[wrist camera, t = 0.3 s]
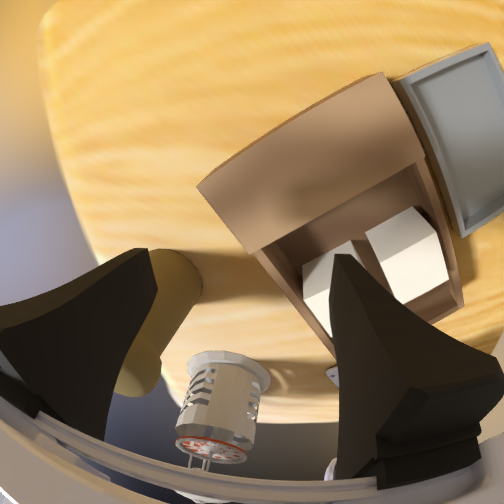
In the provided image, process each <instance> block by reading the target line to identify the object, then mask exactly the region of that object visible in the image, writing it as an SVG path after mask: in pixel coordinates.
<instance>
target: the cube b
mask: <svg viewBox="0 0 504 504" xmlns="http://www.w3.org/2000/svg"><path fill="white" fill-rule="evenodd" d="M365 233H366V235H367V237H368V240H369V242H370V244H371V246H372V248H373V250H374V252H375V254H376V256H377V259H378V261H379V263H380V265H381V267H382V269H383V272H384V274H385V276H386V278H387V280H388V283H389V285H390V287H391V289H392V292H393V294H394V296H395V298H396V299H397V300H398V301H399V302H401V303H402V304H404V303H406V302H408V301H410V300H412V299H414V298H416V297H418V296H420V295H422V294H424V293H425V292H427V291H429V290H431V289H433V288H435V287H436V286H438V285H440V284H442V283H443V282H445V281H447V280H449V277H448V273H447V269H446V265H445V261H444V257H443V253H442V250H441V246H440V243H439V239H438V236H437V233H436V231H435V230H434V229H433V228H432V227H431V225H430V224H429V223H428V222H427V221H426V220H425V219H424V218H423V217H422V216H421V215H420V214H419V213H418V212H417V211H416V209H415V208H414V207H413V206H412V207H410V208H408V209H406V210H405V211H403V212H401V213H399V214H397V215H396V216H394V217H392V218H390V219H388V220H387V221H385V222H383V223H381V224H379V225H378V226H376V227H374V228H372V229H370V230H368V231H367V232H365Z"/></svg>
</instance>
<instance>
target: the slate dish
mask: <svg viewBox="0 0 504 504" xmlns="http://www.w3.org/2000/svg"><path fill="white" fill-rule="evenodd" d="M390 83H391V84H392V86H393V88H394V89H395V91H396V93H397V95H398V97H399V98H400V100H401V102H402V104H403V106H404V108H405V110H406V112H407V113H408V115H409V117H410V119H411V121H412V123H413V126H414V128H415V130H416V132H417V134H418V136H419V138H420V141H421V143H422V145H423V147H424V150H425V152H426V154H427V157H428V159H429V162H430V164H431V167H432V169H433V172H434V175H435V177H436V180H437V183H438V186H439V188H440V191H441V194H442V197H443V200H444V203H445V207H446V210H447V213H448V217H449V220H450V224H451V227H452V230H453V231H454V232H455V233H456V234H457V235H458V236H459V237H460V238H461V239H463V238H465V237H466V236H468V235H469V234H471V233H473V232H474V231H476V230H477V229H479V228H480V227H482V226H483V225H485V224H486V223H488V222H489V221H491V220H492V219H494V218H495V217H497V216H498V215H500V214H501V213H503V212H504V73H503V71H502V69H501V66H500V64H499V62H498V60H497V58H496V55H495V53H494V51H493V49H492V47H491V45H490V43H489V42H487V43H480V44H475V45H472V46H470V47H467V48H464V49H462V50H459V51H457V52H454V53H452V54H449V55H447V56H444V57H442V58H440V59H437V60H435V61H433V62H430V63H428V64H426V65H424V66H421V67H419V68H417V69H415V70H413V71H410V72H408V73H406V74H404V75H402V76H400V77H398V78H396V79H394V80H392V81H390Z"/></svg>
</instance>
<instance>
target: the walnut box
mask: <svg viewBox="0 0 504 504" xmlns="http://www.w3.org/2000/svg"><path fill="white" fill-rule="evenodd" d="M424 157H426V155H425V153H424V151H423V148H422V146H421V144H420V142H419V139H418V137H417V135H416V133H415V131H414V129H413V127H412V124H411V122H410V120H409V118H408V116H407V114H406V113H405V111H404V109H403V107H402V105H401V103H400V101H399V99H398V98H397V96H396V94H395V92H394V90H393V89H392V87H391V85H390V84H389V82H388V80H387V79H386V77H385V75H384V74H383V72H380V73H376V74H372V75H369V76H366V77H363V78H361V79H359V80H357V81H355V82H353V83H351V84H349V85H347V86H345V87H344V88H342V89H340V90H338V91H336V92H334V93H333V94H331V95H329V96H327V97H325V98H324V99H322V100H320V101H318V102H317V103H315V104H313V105H311V106H310V107H308V108H306V109H305V110H303V111H301V112H300V113H298V114H296V115H295V116H293V117H291V118H290V119H288V120H287V121H285V122H283V123H282V124H280V125H279V126H277V127H275V128H274V129H272V130H271V131H269V132H268V133H266V134H265V135H263V136H262V137H260V138H258V139H257V140H255V141H254V142H252V143H251V144H250V145H248V146H247V147H245V148H244V149H242V150H241V151H239V152H238V153H236V154H235V155H233V156H232V157H231V158H229V159H228V160H226V161H225V162H224V163H222V164H221V165H219V166H218V167H217V168H215V169H214V170H213V171H212V172H211V173H210V174H209V175H208V176H206V177H205V178H204V179H203V180H202V181H201V182H200V183H199V184H198V185H197V186H196V188H197V189H198V190H199V192H200V193H201V194H202V195H203V197H204V198H205V199H206V200H207V202H208V203H209V204H210V206H211V207H212V208H213V209H214V211H215V212H216V213H217V214H218V216H219V217H220V218H221V220H222V221H223V222H224V223H225V225H226V226H227V227H228V228H229V230H230V231H231V232H232V233H233V235H234V236H235V237H236V239H237V240H238V241H239V242H240V244H241V245H242V246H243V247H244V249H245V250H246V251H247V252H248V254H249V255H250V254H252V253H253V254H254V256H255V257H256V258H257V260H258V261H259V262H260V263H261V265H262V266H263V267H264V268H265V270H266V271H267V272H268V274H269V275H270V276H271V277H272V279H273V280H274V281H275V283H276V284H277V285H278V286H279V288H280V289H281V290H282V291H283V293H284V294H285V295H286V297H287V298H288V299H289V300H290V302H291V303H292V304H293V305H294V307H295V308H296V309H297V311H298V312H299V313H300V314H301V316H302V317H303V318H304V320H305V321H306V322H307V323H308V325H309V326H310V327H311V328H312V330H313V331H314V332H315V334H316V335H317V336H318V337H319V339H320V340H321V341H322V342H323V344H324V345H325V346H326V348H327V349H328V350H329V351H330V353H331V354H332V355H333V357H334V358H335V359H336V355H335V349H334V343H333V337H330V335H329V334H328V333H327V331H326V330H325V329H324V327H323V326H322V325H321V323H320V322H319V320H318V319H317V318H316V316H315V315H314V314H313V312H312V311H311V310H310V308H309V307H308V306H307V304H306V303H305V302H304V300H303V272H302V265H304V264H306V263H308V262H310V261H312V260H313V259H315V258H317V257H319V256H321V255H323V254H325V253H327V252H329V251H331V250H333V249H335V248H337V247H338V246H340V245H342V244H344V243H346V242H348V241H350V240H351V242H352V244H353V246H354V248H355V250H356V251H357V253H358V255H359V257H360V259H361V261H362V263H363V265H364V266H365V268H366V270H367V271H368V272H369V273H370V274H371V275H372V276H373V277H374V278H375V279H376V280H377V281H378V282H379V283H380V284H381V285H382V286H383V287H384V288H385V289H386V290H387V291H388V292H389V293H390V294H392V295H393V296H394V294H393V292H392V289H391V287H390V285H389V283H388V280H387V278H386V276H385V274H384V272H383V269H382V267H381V265H380V263H379V261H378V259H377V256H376V254H375V252H374V250H373V248H372V246H371V244H370V242H369V240H368V237H367V235H366V233H365V232H367V231H368V230H370V229H372V228H374V227H376V226H378V225H379V224H381V223H383V222H385V221H387V220H388V219H390V218H392V217H394V216H396V215H397V214H399V213H401V212H403V211H405V210H406V209H408V208H410V207H412V206H413V207H414V208H415V209H416V211H417V212H418V213H419V214H420V215H421V216H422V217H423V218H424V219H425V220H426V221H427V222H428V223H429V224H430V225H431V227H432V228H433V229H434V230H435V231H436V233H437V236H438V239H439V243H440V246H441V250H442V253H443V257H444V261H445V265H446V269H447V273H448V277H449V280H447V281H445V282H443V283H442V284H440V285H438V286H436V287H435V288H433V289H431V290H429V291H427V292H425V293H424V294H422V295H420V296H418V297H416V298H414V299H412V300H410V301H408V302H406V303H404V304H403V305H404V306H406V307H407V308H408V309H410V310H411V311H412V312H413V313H415V314H416V315H417V316H419V317H420V318H422V319H423V320H425V321H426V322H428V323H429V324H431V325H432V324H434V323H436V322H438V321H440V320H441V319H443V318H445V317H447V316H449V315H450V314H452V313H454V312H456V311H457V310H459V309H461V308H462V307H464V299H463V293H462V287H461V281H460V276H459V271H458V266H457V262H456V257H455V253H454V249H453V245H452V241H451V237H450V233H449V229H448V226H447V222H446V219H445V216H444V212H443V209H442V206H441V203H440V200H439V197H438V194H437V191H436V188H435V186H434V183H433V180H432V178H431V175H430V172H429V170H428V167H427V165H426V162H425V160H424ZM394 297H395V296H394Z"/></svg>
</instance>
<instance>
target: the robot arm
mask: <svg viewBox="0 0 504 504" xmlns="http://www.w3.org/2000/svg"><path fill="white" fill-rule="evenodd" d="M157 292H158V286H157V283H156V279H155V275H154V271H153V268H152V264H151V260H150V256H149V251H148V248H134V249H131V250H129V251H126V252H124V253H122V254H120V255H118V256H117V257H115V258H113V259H111V260H109V261H107V262H106V263H104V264H102V265H100V266H98V267H97V268H95V269H93V270H91V271H89V272H88V273H86V274H84V275H82V276H80V277H78V278H76V279H74V280H73V281H71V282H69V283H66V284H64V285H62V286H60V287H58V288H55V289H53V290H51V291H48V292H46V293H43V294H40V295H38V296H35V297H32V298H29V299H26V300H23V301H20V302H16V303H12V304H8V305H3V306H0V491H1V492H2V493H3V494H4V495H5V498H4V500H3V503H2V504H168V503H165V502H161V501H158V500H155V499H152V498H149V497H147V496H144V495H141V494H138V493H136V492H133V491H130V490H128V489H125V488H122V487H120V486H118V485H116V484H113V483H111V482H110V478H109V477H108V476H106V475H105V474H103V473H101V472H100V471H98V470H96V469H95V468H93V467H91V466H90V465H88V464H87V463H86V462H84V461H83V460H82V459H80V458H79V457H78V456H77V455H75V454H73V453H71V452H70V451H68V450H67V448H69V449H71V450H73V451H74V452H76V453H78V454H80V455H82V456H84V457H86V458H88V459H91V460H93V461H95V462H97V463H99V464H102V465H104V466H106V467H109V468H111V469H113V470H116V471H119V472H121V473H123V474H126V475H129V476H131V477H134V478H137V479H140V480H143V481H146V482H149V483H152V484H155V485H158V486H162V487H165V488H169V489H173V490H176V491H180V492H184V493H189V494H193V495H198V496H202V497H207V498H213V499H218V500H225V501H231V502H239V503H248V504H504V432H503V433H501V434H499V435H496V436H494V437H492V438H489V439H488V440H485V441H484V442H482V443H480V444H478V440H477V436H479V435H480V433H481V427H480V423H479V422H480V421H481V420H482V419H483V418H484V417H485V416H486V415H487V414H488V413H489V412H490V411H491V410H492V409H493V408H494V407H495V406H496V405H497V403H498V402H499V401H500V400H501V399H502V397H503V395H504V373H503V371H502V369H501V367H500V364H499V362H498V360H497V358H496V357H494V356H491V355H489V354H487V353H484V352H482V351H479V350H477V349H475V348H472V347H470V346H468V345H466V344H464V343H462V342H460V341H458V340H456V339H454V338H452V337H450V336H449V335H447V334H445V333H443V332H442V331H440V330H438V329H437V328H435V327H434V326H432V325H431V324H429V323H428V322H426V321H425V320H423V319H422V318H420V317H419V316H417V315H416V314H415V313H413V312H412V311H411V310H410V309H408V308H407V307H406V306H404V305H403V304H402V303H401V302H399V301H398V300H397V299H396V298H395V297H394V296H393V295H392V294H390V293H389V292H388V291H387V290H386V289H385V288H384V287H383V286H382V285H381V284H380V283H379V282H378V281H377V280H376V279H375V278H374V277H373V276H372V275H371V274H370V273H369V272H368V271H367V270H366V269H365V268H364V267H363V266H362V265H361V264H360V263H359V262H358V261H357V260H356V259H355V258H354V257H353V256H352V255H351V254H334V262H333V270H332V277H331V285H330V292H329V317H330V326H331V331H332V337H333V343H334V349H335V355H336V361H337V366H336V367H333V368H330V369H328V370H327V371H326V375H327V376H328V377H329V378H330V379H331V380H332V382H333V383H334V384H335V385H336V386H337V387H338V388H339V436H338V453H337V458H335V459H333V460H332V462H331V463H330V465H329V466H328V468H327V470H326V473H325V478H324V481H279V480H278V481H277V480H262V479H252V478H242V477H234V476H227V475H221V474H215V473H209V472H204V471H198V470H194V469H189V468H185V467H180V466H176V465H172V464H168V463H165V462H161V461H157V460H154V459H150V458H147V457H144V456H141V455H138V454H135V453H132V452H129V451H126V450H123V449H121V448H118V447H115V446H112V445H110V444H107V443H105V442H104V435H105V428H106V422H107V416H108V411H109V407H110V403H111V399H112V395H113V392H114V388H115V385H116V382H117V379H118V376H119V373H120V370H121V367H122V365H123V362H124V359H125V357H126V355H127V353H128V351H129V349H130V347H131V345H132V343H133V341H134V339H135V337H136V336H137V334H138V332H139V330H140V328H141V327H142V325H143V323H144V321H145V319H146V317H147V316H148V314H149V312H150V310H151V308H152V305H153V303H154V300H155V297H156V295H157ZM66 447H67V448H66Z"/></svg>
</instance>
